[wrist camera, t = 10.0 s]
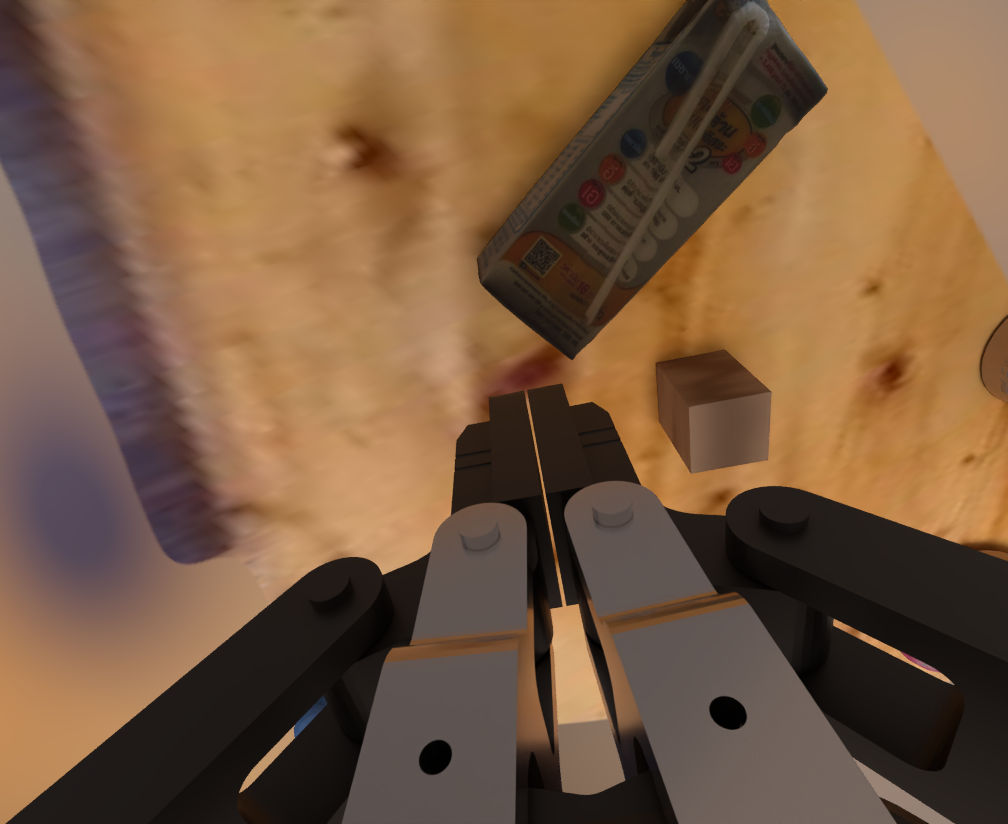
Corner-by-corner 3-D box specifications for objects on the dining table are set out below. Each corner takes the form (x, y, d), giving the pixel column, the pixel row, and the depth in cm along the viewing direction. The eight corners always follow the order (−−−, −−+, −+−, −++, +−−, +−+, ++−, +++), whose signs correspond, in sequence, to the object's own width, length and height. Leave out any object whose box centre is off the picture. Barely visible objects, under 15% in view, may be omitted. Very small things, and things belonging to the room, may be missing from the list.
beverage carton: (781, 97, 32) (848, 90, 26) (558, 335, 38) (572, 373, 32) (694, -15, 29) (747, -49, 23) (470, 261, 36) (468, 288, 30)
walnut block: (724, 349, 39) (771, 391, 33) (724, 410, 41) (768, 459, 35) (655, 362, 39) (689, 406, 33) (659, 422, 42) (691, 473, 35)
